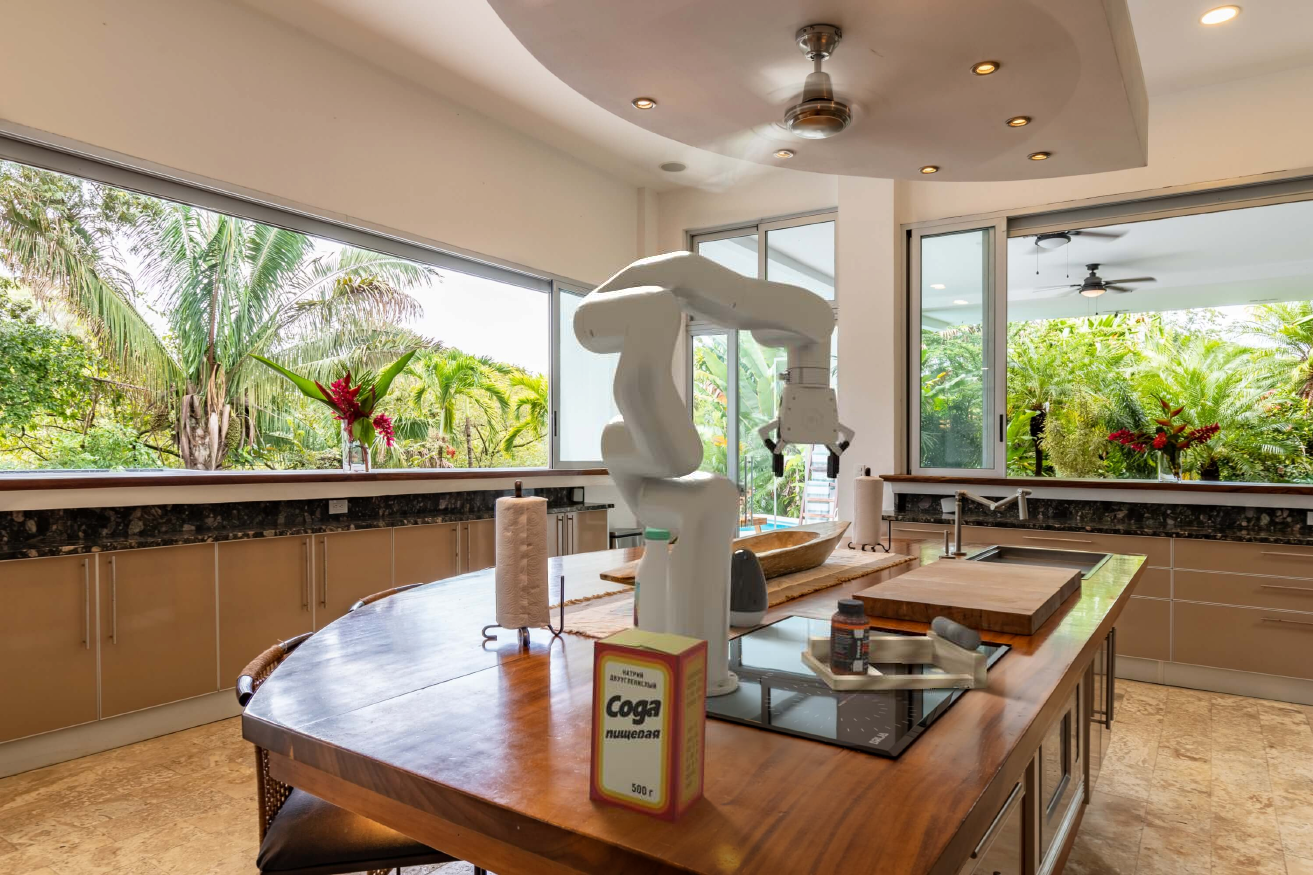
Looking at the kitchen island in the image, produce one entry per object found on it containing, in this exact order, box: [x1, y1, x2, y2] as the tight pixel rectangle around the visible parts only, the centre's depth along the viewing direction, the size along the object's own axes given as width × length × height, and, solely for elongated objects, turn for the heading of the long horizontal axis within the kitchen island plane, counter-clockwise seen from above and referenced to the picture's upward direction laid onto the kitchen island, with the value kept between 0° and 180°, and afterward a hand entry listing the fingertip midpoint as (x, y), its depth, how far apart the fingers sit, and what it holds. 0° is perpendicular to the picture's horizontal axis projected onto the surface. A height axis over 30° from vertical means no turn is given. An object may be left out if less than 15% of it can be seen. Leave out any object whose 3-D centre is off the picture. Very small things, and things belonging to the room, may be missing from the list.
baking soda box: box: [588, 627, 708, 824], centre depth 76 cm, size 10×6×16 cm
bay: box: [800, 616, 988, 691], centre depth 121 cm, size 24×15×8 cm, turn 97°
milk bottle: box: [632, 528, 671, 634], centre depth 137 cm, size 8×8×20 cm
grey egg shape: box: [729, 547, 769, 629], centre depth 152 cm, size 10×10×15 cm
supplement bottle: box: [829, 598, 871, 676], centre depth 120 cm, size 6×6×11 cm
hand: (805, 477), depth 134 cm, fingers open, 9 cm apart
